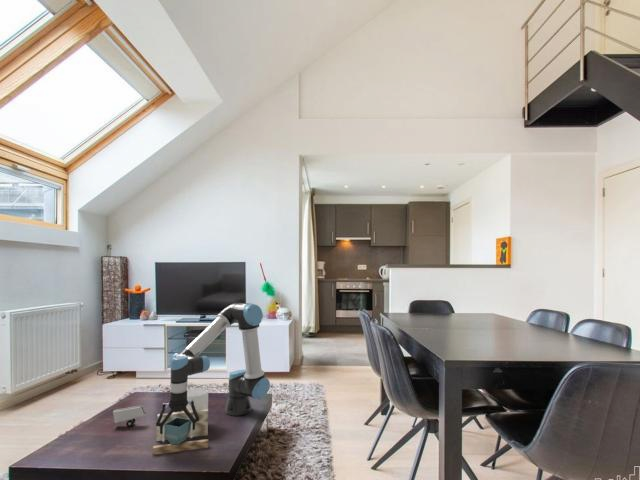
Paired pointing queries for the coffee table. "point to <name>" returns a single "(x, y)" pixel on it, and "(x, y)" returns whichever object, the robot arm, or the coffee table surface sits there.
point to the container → (197, 398)
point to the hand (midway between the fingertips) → (177, 438)
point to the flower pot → (177, 430)
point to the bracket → (128, 414)
